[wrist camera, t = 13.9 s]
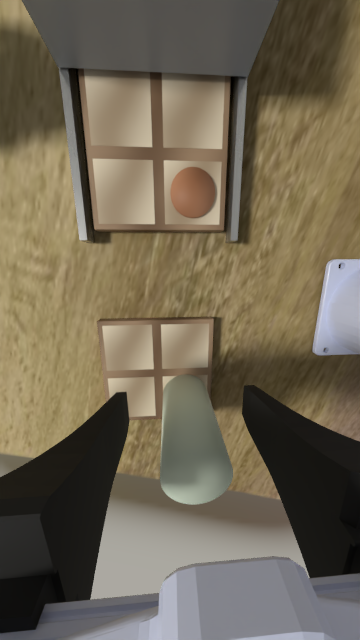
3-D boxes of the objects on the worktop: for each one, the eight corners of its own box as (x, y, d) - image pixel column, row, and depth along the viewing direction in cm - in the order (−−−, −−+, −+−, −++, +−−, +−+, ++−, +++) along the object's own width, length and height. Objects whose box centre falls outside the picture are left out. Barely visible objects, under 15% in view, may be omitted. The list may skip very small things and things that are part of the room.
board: (227, 80, 13) (232, 64, 12) (220, 232, 15) (224, 229, 14) (82, 73, 12) (75, 56, 11) (98, 231, 14) (93, 228, 13)
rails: (254, -171, 10) (265, -228, 9) (232, 242, 15) (237, 240, 14) (37, -197, 10) (18, -262, 8) (86, 242, 14) (79, 240, 13)
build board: (211, 316, 16) (213, 319, 15) (208, 410, 18) (210, 416, 18) (100, 319, 16) (96, 321, 15) (110, 414, 18) (108, 421, 17)
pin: (199, 368, 16) (221, 437, 10) (212, 404, 17) (241, 490, 11) (156, 383, 16) (148, 462, 10) (172, 418, 17) (175, 512, 11)
